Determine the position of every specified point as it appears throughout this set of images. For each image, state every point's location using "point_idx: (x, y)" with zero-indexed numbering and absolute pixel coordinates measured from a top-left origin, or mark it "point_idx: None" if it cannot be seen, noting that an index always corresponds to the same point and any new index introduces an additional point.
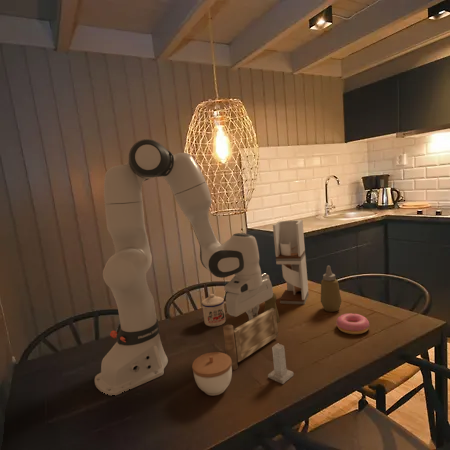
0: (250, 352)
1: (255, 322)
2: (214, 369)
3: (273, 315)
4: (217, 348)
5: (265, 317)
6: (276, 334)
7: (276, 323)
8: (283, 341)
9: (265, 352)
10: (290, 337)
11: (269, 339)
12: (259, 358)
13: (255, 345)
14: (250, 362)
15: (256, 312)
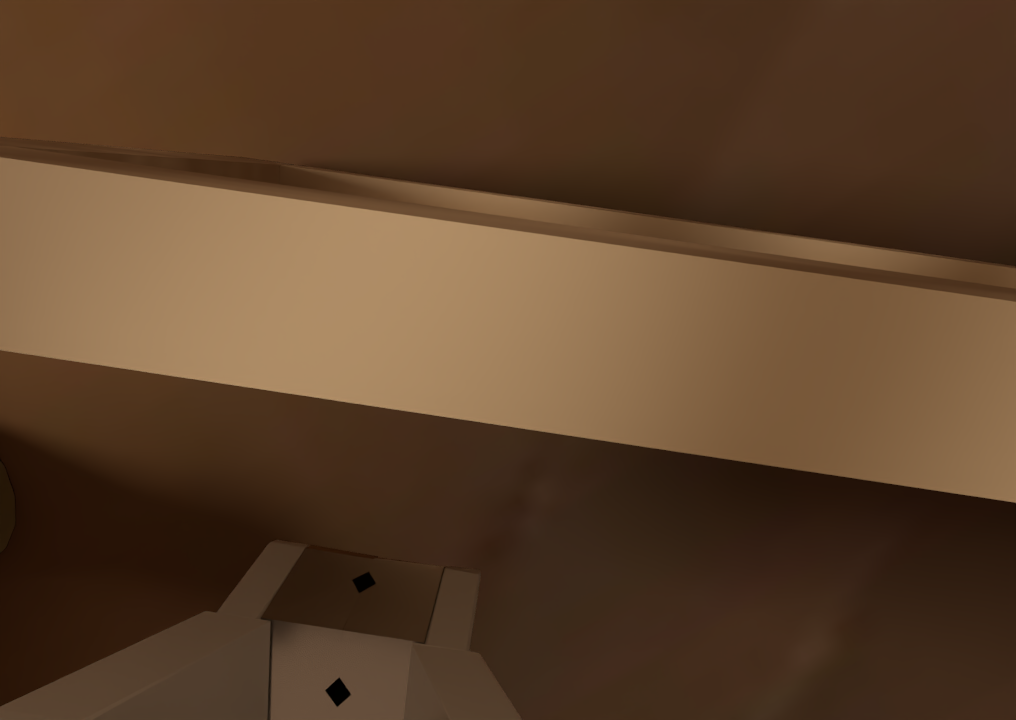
0: (881, 248)
1: (955, 286)
2: None
3: (16, 147)
4: (802, 693)
5: (383, 201)
6: (260, 160)
7: (118, 148)
8: (287, 50)
9: (660, 129)
10: (139, 13)
11: (438, 185)
12: (831, 121)
13: (759, 245)
14: (964, 178)
15: (249, 639)
